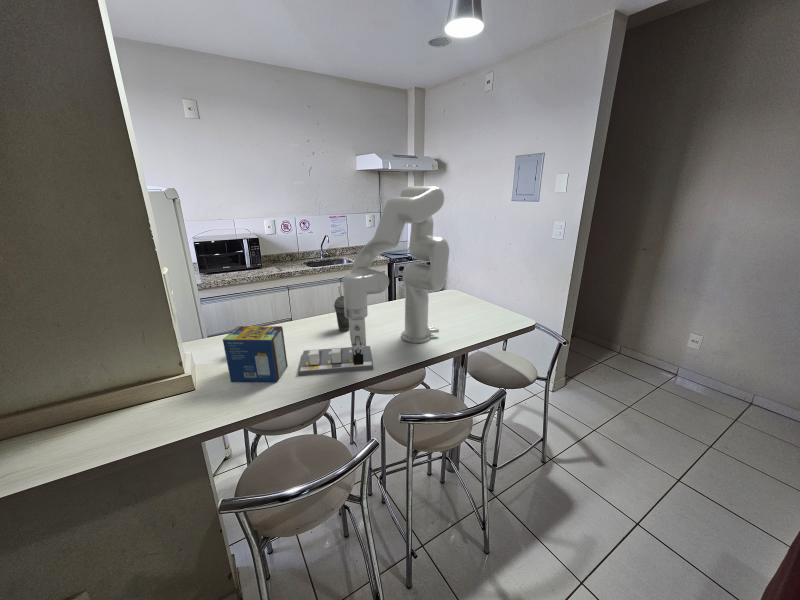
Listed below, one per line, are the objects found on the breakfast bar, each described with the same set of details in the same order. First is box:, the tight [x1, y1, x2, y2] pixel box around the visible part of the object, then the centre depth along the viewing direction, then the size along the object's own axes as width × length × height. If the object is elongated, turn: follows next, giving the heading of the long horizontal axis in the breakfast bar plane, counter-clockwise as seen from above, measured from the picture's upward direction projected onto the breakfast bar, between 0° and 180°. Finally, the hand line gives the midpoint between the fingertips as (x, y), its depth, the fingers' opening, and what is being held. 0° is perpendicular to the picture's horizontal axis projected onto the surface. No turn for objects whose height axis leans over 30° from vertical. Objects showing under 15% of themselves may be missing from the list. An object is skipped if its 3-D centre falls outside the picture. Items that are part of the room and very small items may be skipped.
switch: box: [309, 349, 320, 365], centre depth 113 cm, size 3×3×4 cm
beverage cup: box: [333, 286, 350, 333], centre depth 141 cm, size 7×7×20 cm
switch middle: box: [331, 347, 342, 363], centre depth 114 cm, size 3×3×4 cm
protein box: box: [222, 325, 289, 384], centre depth 107 cm, size 10×15×16 cm
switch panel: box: [298, 345, 374, 376], centre depth 117 cm, size 25×15×2 cm, turn 99°
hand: (358, 357), depth 113 cm, fingers open, 9 cm apart
